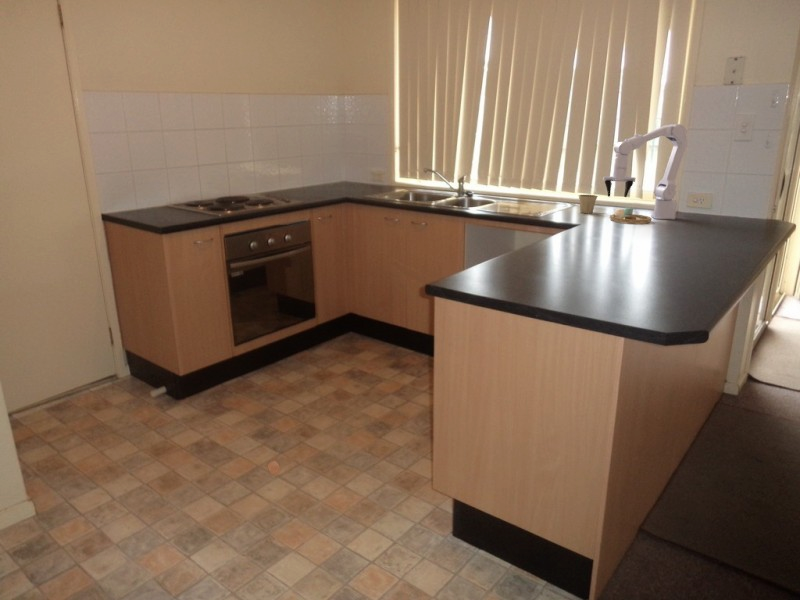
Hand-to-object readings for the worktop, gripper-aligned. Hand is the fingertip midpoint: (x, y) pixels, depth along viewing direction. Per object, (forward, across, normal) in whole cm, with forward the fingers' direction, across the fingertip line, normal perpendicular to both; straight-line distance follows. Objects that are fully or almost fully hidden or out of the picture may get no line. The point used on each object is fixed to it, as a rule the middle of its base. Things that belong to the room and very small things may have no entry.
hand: (617, 196), depth 288 cm
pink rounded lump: (+101, +141, +101) cm, 200 cm away
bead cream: (+10, -1, +6) cm, 12 cm away
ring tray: (+10, -6, +6) cm, 13 cm away
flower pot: (+11, +11, -15) cm, 21 cm away
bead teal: (+10, -6, +1) cm, 11 cm away
